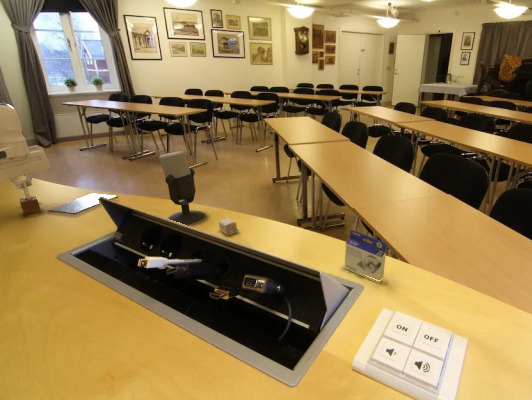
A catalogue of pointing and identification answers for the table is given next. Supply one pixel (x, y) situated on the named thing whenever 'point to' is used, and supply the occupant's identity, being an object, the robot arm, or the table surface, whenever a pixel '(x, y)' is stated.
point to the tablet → (81, 204)
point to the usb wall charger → (228, 226)
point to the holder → (30, 206)
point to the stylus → (26, 190)
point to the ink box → (365, 256)
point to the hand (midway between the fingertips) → (24, 187)
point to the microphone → (181, 186)
